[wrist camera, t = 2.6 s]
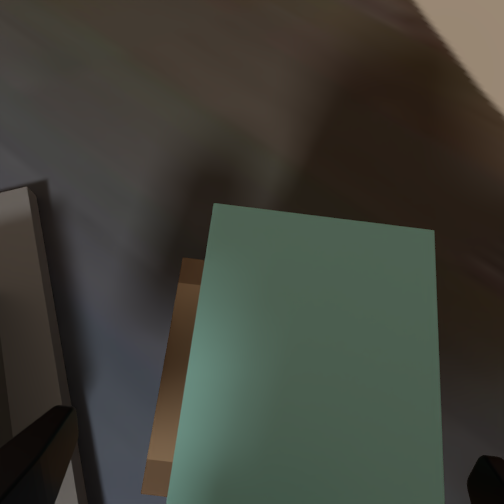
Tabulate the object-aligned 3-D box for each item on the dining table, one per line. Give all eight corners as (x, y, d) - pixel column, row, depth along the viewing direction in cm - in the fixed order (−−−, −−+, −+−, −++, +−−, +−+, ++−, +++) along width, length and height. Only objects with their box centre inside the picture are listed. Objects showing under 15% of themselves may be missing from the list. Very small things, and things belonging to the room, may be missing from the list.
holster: (334, 490, 17) (363, 519, 13) (160, 470, 17) (140, 493, 13) (341, 301, 19) (368, 280, 16) (192, 283, 19) (182, 257, 16)
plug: (295, 439, 17) (450, 554, 5) (209, 429, 17) (158, 521, 5) (302, 334, 19) (437, 228, 7) (223, 324, 19) (211, 200, 7)
